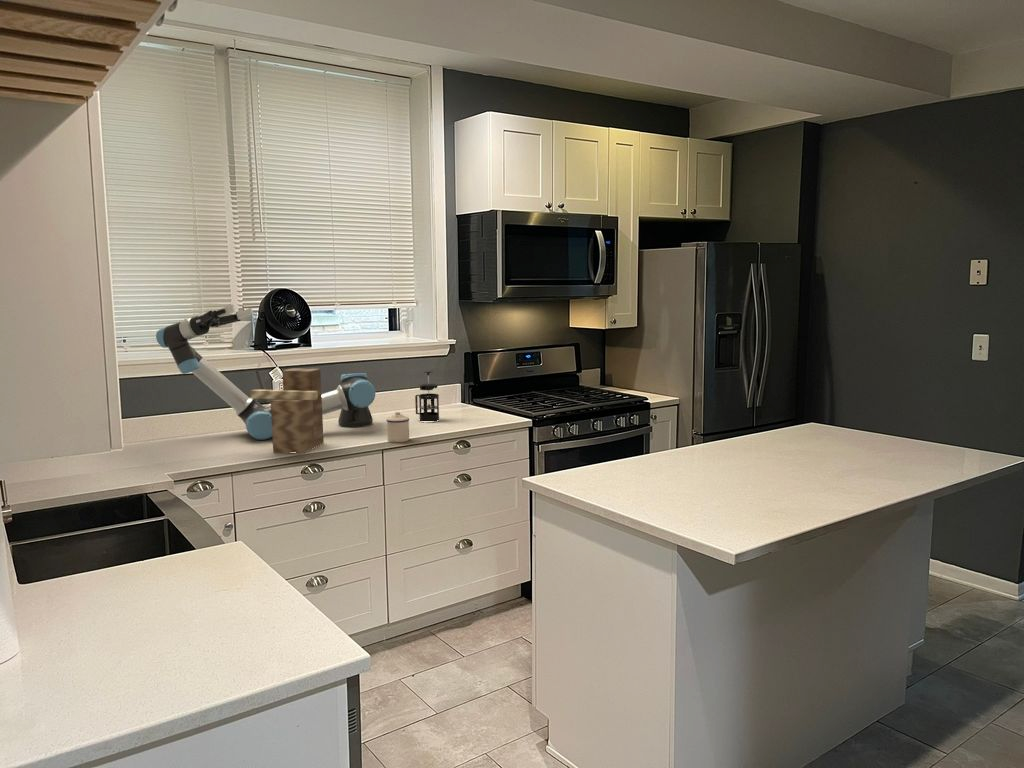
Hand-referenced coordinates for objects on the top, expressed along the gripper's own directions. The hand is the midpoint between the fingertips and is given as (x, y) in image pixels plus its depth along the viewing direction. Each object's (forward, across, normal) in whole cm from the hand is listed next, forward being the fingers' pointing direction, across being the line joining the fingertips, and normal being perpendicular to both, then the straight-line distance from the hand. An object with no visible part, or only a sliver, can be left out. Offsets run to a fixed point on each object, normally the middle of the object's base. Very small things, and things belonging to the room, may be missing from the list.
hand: (243, 309), depth 287 cm
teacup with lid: (+34, +26, +65) cm, 78 cm away
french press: (+38, +66, +61) cm, 98 cm away
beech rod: (+6, 0, +37) cm, 38 cm away
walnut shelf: (+2, +7, +57) cm, 57 cm away
